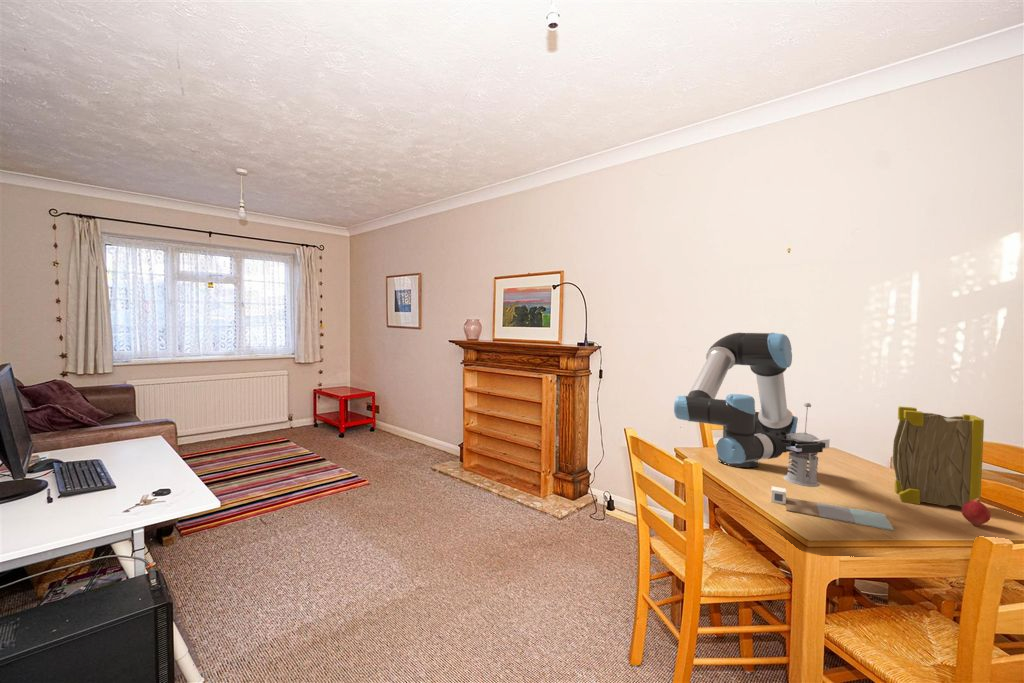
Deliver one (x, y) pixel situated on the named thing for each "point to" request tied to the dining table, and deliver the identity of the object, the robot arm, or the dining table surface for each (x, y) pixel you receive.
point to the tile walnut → (802, 507)
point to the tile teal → (870, 519)
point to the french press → (803, 462)
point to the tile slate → (835, 512)
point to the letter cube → (778, 495)
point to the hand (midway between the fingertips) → (814, 440)
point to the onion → (976, 512)
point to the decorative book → (938, 457)
